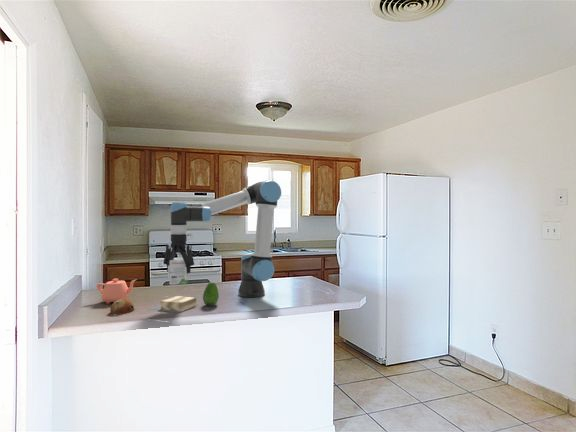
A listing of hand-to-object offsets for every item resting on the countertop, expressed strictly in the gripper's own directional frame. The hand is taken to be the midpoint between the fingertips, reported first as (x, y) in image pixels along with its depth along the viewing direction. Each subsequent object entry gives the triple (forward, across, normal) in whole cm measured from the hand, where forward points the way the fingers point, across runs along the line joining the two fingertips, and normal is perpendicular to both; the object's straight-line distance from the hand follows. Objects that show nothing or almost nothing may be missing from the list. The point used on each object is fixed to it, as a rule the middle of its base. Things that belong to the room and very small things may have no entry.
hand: (178, 279), depth 189 cm
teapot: (+15, +39, +1) cm, 42 cm away
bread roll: (+15, +20, +15) cm, 30 cm away
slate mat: (+14, +3, 0) cm, 15 cm away
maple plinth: (+14, 0, 0) cm, 14 cm away
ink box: (+2, 0, 0) cm, 2 cm away
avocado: (+15, -12, -10) cm, 21 cm away
